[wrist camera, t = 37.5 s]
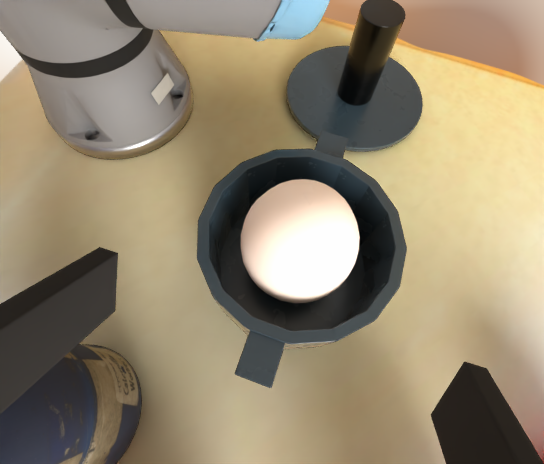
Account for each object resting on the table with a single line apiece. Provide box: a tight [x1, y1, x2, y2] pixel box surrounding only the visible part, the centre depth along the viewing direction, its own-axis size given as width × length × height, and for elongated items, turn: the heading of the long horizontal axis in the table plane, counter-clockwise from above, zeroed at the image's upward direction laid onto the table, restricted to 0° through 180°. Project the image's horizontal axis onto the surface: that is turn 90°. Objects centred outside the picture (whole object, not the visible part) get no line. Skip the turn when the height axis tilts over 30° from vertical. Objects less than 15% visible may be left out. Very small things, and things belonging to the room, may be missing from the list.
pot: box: [197, 131, 407, 388], centre depth 26 cm, size 15×20×8 cm
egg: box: [241, 179, 360, 303], centre depth 23 cm, size 9×9×11 cm
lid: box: [287, 0, 423, 152], centre depth 32 cm, size 16×16×10 cm
